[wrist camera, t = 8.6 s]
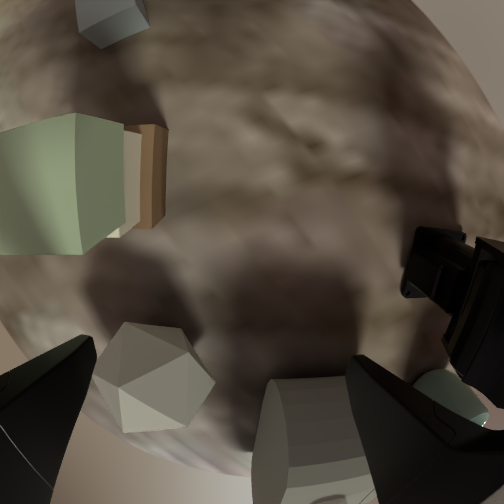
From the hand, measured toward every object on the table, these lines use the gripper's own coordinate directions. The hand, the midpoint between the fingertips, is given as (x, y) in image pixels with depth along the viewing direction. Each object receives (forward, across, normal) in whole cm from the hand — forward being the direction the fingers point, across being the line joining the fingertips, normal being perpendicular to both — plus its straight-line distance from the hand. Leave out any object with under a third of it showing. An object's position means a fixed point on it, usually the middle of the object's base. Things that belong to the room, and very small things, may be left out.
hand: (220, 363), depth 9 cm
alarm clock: (+13, -9, +19) cm, 25 cm away
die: (+13, +5, +10) cm, 17 cm away
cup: (+13, -25, +16) cm, 32 cm away
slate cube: (+12, +10, -17) cm, 23 cm away
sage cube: (+5, +7, -5) cm, 10 cm away
